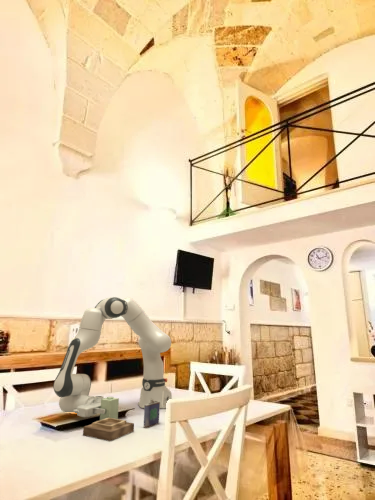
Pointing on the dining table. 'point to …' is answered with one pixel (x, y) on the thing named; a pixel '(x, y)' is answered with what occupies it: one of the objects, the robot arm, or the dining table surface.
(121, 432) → the base
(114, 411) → the pillar
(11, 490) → the dining table surface
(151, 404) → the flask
